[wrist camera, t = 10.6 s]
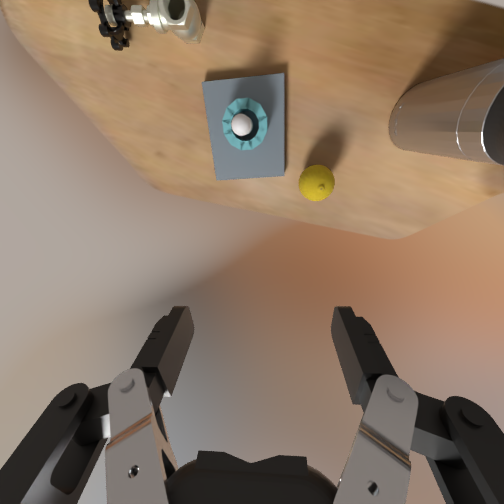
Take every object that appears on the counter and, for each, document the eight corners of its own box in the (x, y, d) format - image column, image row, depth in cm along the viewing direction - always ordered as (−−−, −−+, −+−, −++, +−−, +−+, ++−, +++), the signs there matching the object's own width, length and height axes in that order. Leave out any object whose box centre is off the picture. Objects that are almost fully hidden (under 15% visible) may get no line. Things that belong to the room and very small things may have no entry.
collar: (266, 98, 32) (266, 95, 29) (268, 146, 35) (268, 148, 32) (223, 103, 33) (219, 100, 30) (229, 149, 36) (225, 151, 33)
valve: (204, -7, 28) (115, -9, 29) (188, -41, 22) (77, -43, 23) (208, 59, 31) (128, 57, 32) (195, 44, 26) (97, 41, 26)
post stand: (283, 75, 32) (290, 53, 23) (283, 174, 39) (288, 188, 30) (204, 83, 33) (180, 66, 24) (218, 178, 40) (203, 193, 31)
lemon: (292, 168, 38) (298, 177, 31) (323, 156, 37) (337, 162, 30) (300, 197, 41) (307, 212, 34) (330, 187, 39) (344, 199, 32)
